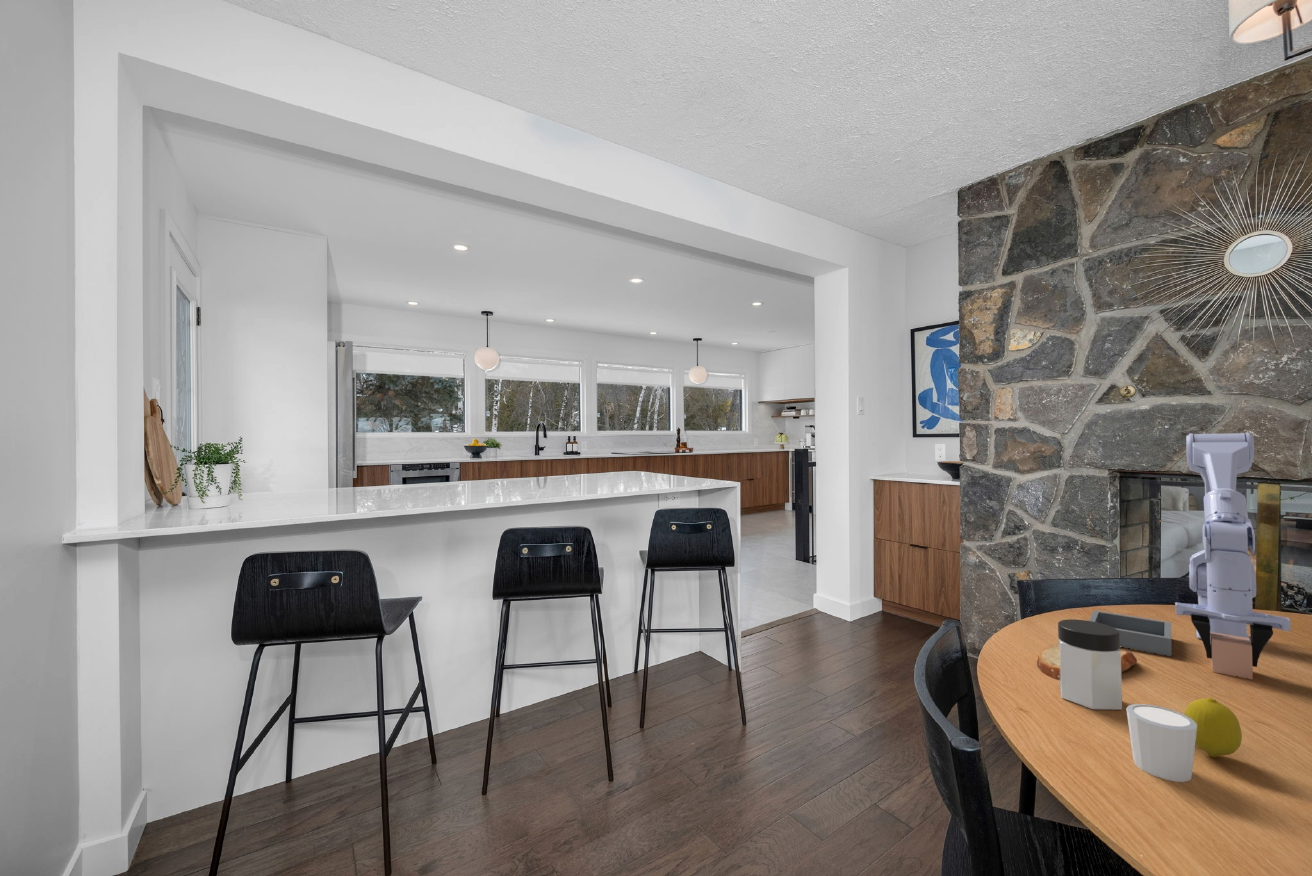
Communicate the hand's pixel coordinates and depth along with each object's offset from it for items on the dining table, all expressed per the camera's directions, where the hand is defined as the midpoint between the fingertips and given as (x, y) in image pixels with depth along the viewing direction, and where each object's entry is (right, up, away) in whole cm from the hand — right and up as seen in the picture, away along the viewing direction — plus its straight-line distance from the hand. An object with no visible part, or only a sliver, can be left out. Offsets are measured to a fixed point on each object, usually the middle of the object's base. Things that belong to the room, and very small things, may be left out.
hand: (1230, 660), depth 100 cm
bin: (-5, -2, +16) cm, 17 cm away
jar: (-34, -3, -9) cm, 35 cm away
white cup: (-39, -3, -29) cm, 49 cm away
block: (0, -2, 0) cm, 2 cm away
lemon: (-30, -3, -26) cm, 40 cm away
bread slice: (-24, -3, +3) cm, 24 cm away
